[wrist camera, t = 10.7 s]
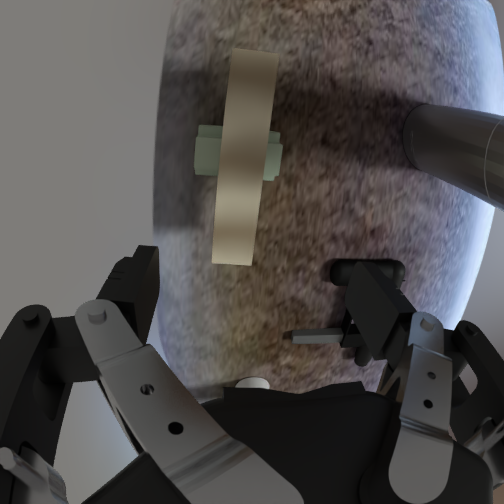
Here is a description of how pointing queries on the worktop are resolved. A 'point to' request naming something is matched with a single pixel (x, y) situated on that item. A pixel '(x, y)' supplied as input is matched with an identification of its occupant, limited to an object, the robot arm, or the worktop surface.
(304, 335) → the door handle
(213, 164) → the ridge
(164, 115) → the worktop surface
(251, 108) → the bar
